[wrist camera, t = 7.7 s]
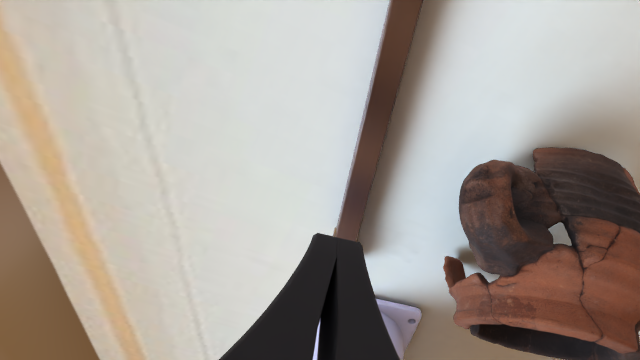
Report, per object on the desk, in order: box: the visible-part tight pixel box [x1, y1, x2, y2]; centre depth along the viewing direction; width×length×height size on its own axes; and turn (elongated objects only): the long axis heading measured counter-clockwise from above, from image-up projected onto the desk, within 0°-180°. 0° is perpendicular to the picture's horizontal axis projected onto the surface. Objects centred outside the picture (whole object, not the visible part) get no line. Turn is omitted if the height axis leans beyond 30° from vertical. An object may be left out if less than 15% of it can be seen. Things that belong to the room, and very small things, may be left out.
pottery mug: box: [443, 148, 640, 360], centre depth 18 cm, size 12×10×8 cm
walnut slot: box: [333, 0, 423, 242], centre depth 17 cm, size 20×18×1 cm
